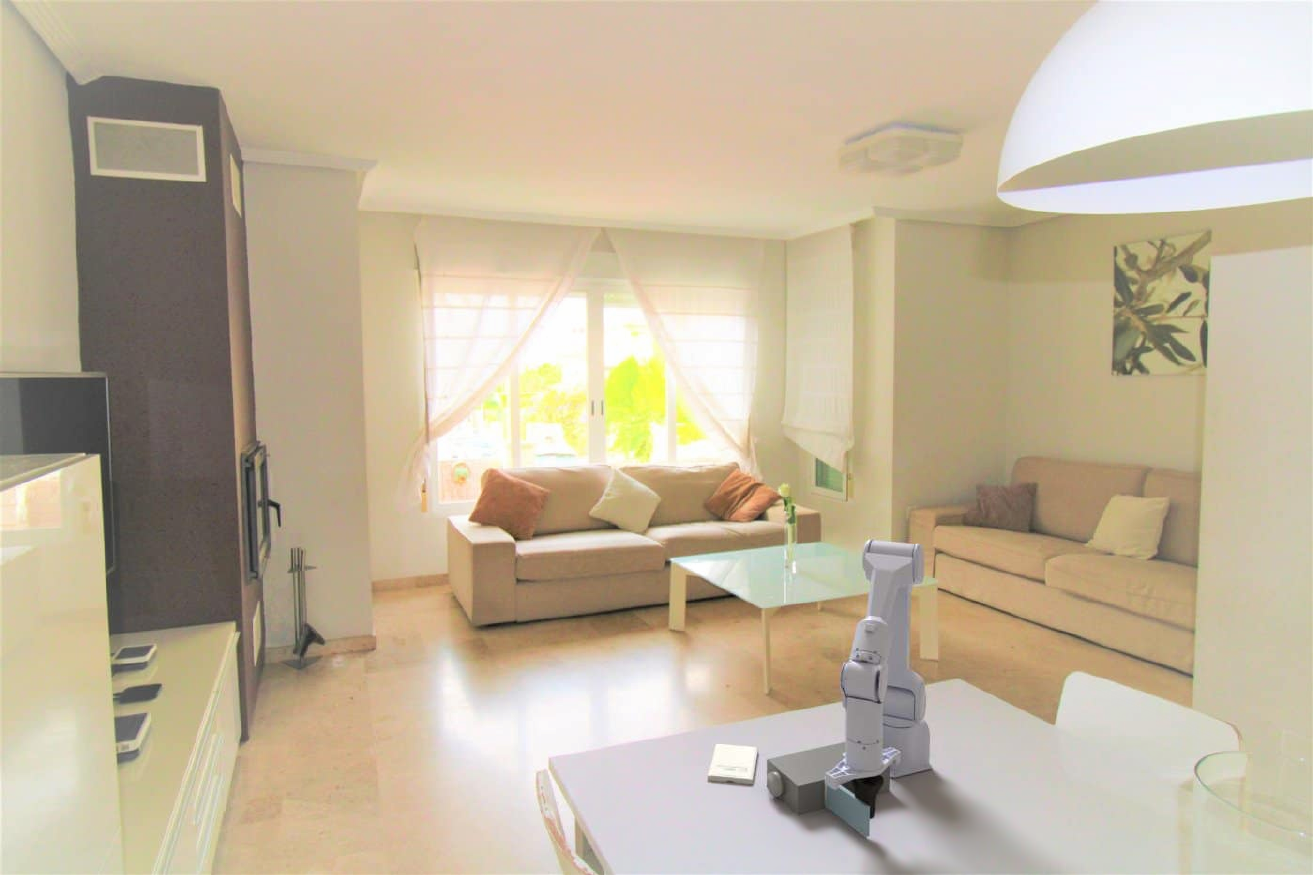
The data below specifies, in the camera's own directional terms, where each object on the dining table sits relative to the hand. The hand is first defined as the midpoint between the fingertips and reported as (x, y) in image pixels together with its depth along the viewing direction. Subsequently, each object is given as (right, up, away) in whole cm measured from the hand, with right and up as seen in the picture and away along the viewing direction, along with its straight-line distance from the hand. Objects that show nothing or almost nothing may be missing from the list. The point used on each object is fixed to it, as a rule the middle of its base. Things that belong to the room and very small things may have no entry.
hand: (864, 816), depth 127 cm
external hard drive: (-19, -2, +22) cm, 29 cm away
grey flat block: (-3, -2, +14) cm, 14 cm away
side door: (-2, -2, +3) cm, 4 cm away
